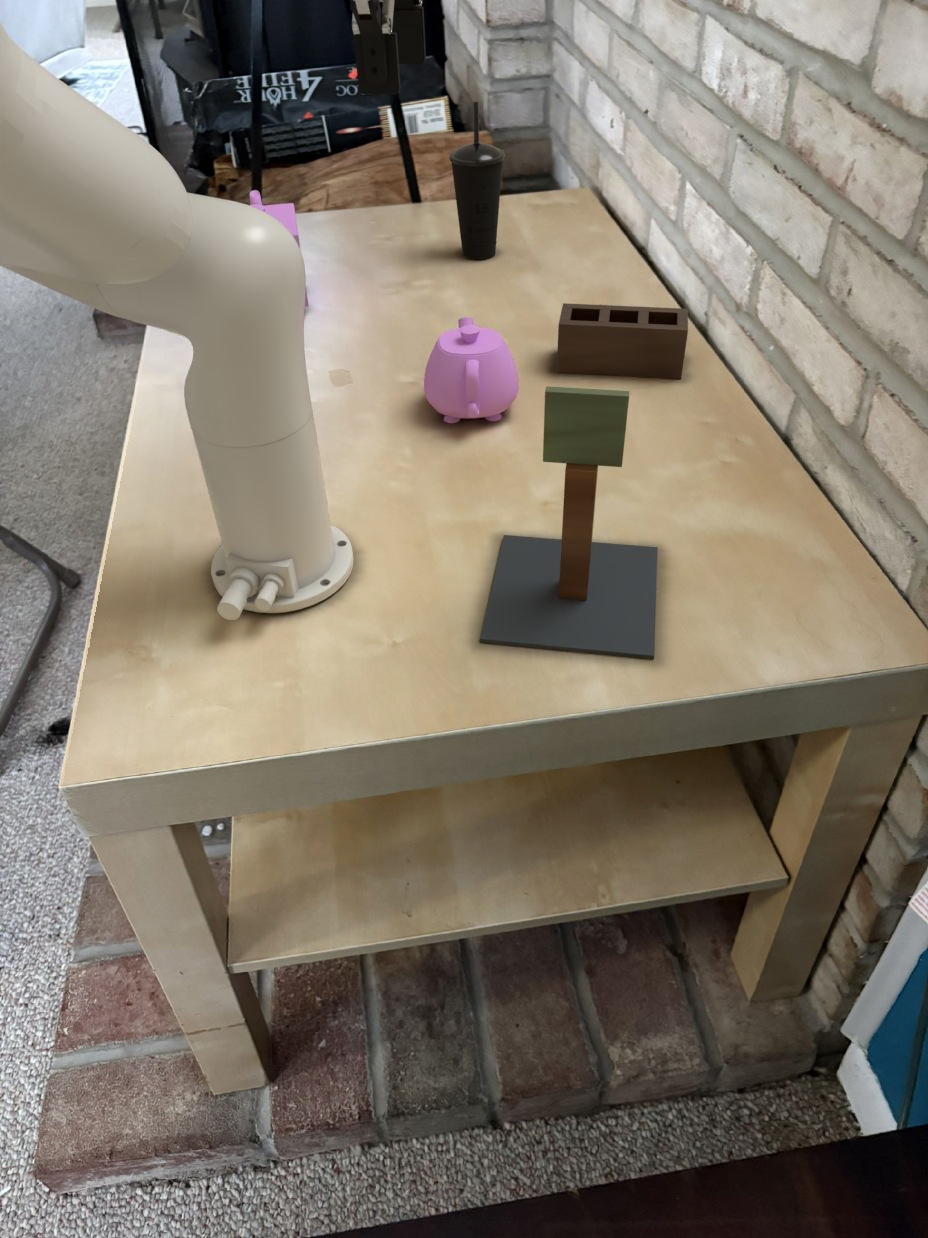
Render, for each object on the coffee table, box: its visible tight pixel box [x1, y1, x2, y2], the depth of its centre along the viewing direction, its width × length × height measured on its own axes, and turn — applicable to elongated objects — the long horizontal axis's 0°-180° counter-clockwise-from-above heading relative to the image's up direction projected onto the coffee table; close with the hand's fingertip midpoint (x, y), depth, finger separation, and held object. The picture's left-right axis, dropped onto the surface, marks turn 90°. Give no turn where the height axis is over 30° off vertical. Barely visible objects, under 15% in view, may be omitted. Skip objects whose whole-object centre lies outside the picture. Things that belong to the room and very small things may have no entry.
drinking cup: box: [448, 101, 506, 261], centre depth 129 cm, size 8×8×20 cm
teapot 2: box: [423, 316, 520, 424], centre depth 100 cm, size 10×15×9 cm
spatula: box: [542, 385, 630, 601], centre depth 72 cm, size 2×6×19 cm, turn 80°
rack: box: [556, 302, 689, 380], centre depth 107 cm, size 6×14×6 cm, turn 80°
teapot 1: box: [248, 189, 309, 307], centre depth 122 cm, size 20×10×12 cm, turn 10°
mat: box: [479, 534, 658, 660], centre depth 79 cm, size 14×14×1 cm
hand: (394, 77), depth 74 cm, fingers open, 9 cm apart
